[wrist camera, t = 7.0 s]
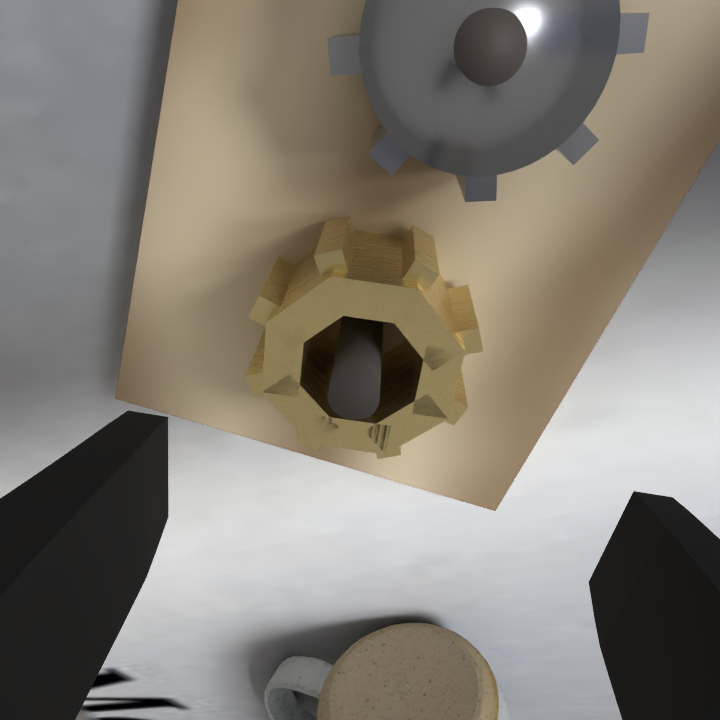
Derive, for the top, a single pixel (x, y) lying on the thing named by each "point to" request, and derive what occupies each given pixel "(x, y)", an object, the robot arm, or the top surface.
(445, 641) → the ceramic mug
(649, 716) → the robot arm
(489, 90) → the steel gear
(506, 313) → the gear board
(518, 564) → the top surface
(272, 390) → the brass gear
